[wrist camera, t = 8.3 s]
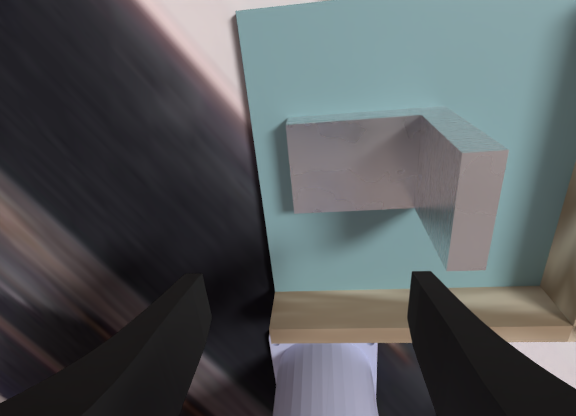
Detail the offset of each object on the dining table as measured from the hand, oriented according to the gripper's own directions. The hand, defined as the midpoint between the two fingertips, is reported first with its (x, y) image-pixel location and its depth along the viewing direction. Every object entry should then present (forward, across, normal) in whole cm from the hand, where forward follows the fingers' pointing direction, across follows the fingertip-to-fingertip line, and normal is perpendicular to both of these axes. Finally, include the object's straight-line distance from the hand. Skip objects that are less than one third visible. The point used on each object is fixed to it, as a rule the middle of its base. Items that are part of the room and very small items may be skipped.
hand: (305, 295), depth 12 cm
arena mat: (+10, -6, -1) cm, 11 cm away
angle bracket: (+9, -3, -2) cm, 10 cm away
